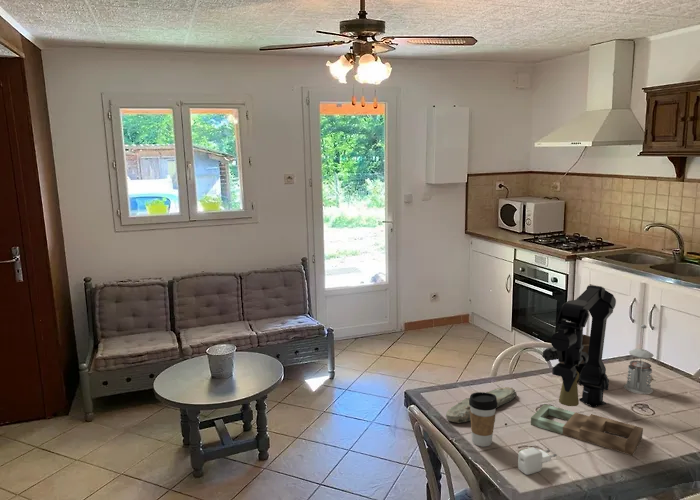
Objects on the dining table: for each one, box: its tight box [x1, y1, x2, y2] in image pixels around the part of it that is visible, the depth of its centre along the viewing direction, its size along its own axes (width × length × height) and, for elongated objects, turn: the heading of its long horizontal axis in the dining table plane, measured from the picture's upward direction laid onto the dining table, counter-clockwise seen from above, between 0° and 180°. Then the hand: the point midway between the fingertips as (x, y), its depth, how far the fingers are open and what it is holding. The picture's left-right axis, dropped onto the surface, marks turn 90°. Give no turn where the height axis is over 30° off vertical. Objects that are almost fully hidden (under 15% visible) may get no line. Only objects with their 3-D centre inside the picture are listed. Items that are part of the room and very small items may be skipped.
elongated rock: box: [445, 386, 518, 424], centre depth 191 cm, size 35×5×10 cm
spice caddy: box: [530, 403, 644, 456], centre depth 174 cm, size 30×12×4 cm, turn 51°
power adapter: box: [517, 446, 557, 476], centre depth 154 cm, size 11×5×6 cm, turn 114°
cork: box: [558, 370, 580, 407], centre depth 175 cm, size 6×6×11 cm
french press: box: [623, 324, 654, 395], centre depth 202 cm, size 10×12×25 cm
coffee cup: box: [469, 391, 497, 447], centre depth 167 cm, size 8×8×15 cm
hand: (569, 388), depth 175 cm, fingers closed on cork, 4 cm apart
